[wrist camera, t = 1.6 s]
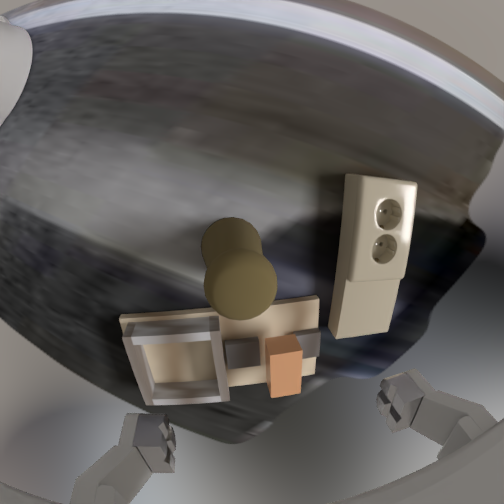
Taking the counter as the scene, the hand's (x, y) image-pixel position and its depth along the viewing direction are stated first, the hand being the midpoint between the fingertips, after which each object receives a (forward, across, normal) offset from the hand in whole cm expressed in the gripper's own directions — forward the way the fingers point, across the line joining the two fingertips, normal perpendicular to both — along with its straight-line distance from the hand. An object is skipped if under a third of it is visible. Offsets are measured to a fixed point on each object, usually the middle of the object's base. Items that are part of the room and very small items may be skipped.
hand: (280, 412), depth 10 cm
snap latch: (+18, -4, +12) cm, 22 cm away
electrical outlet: (+22, -15, +3) cm, 27 cm away
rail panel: (+21, +2, +12) cm, 25 cm away
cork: (+22, 0, 0) cm, 22 cm away
